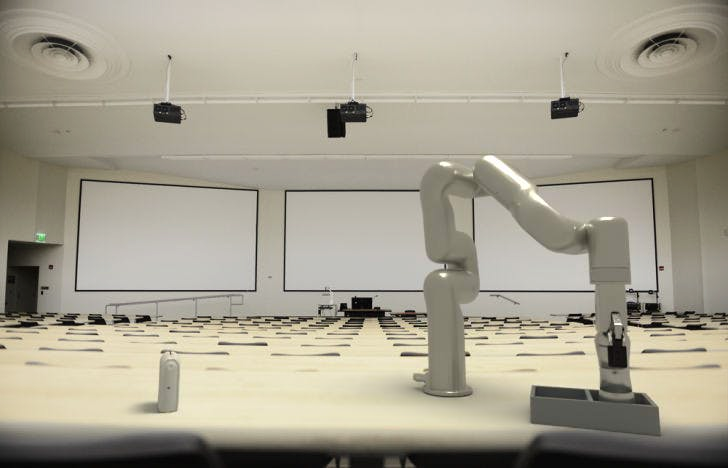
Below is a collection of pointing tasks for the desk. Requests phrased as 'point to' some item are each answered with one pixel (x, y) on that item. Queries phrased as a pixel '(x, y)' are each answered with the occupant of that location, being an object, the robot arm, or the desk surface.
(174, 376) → the grey rounded block
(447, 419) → the desk surface
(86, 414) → the desk surface
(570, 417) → the grey divided tray
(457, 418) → the desk surface
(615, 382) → the plastic bottle
